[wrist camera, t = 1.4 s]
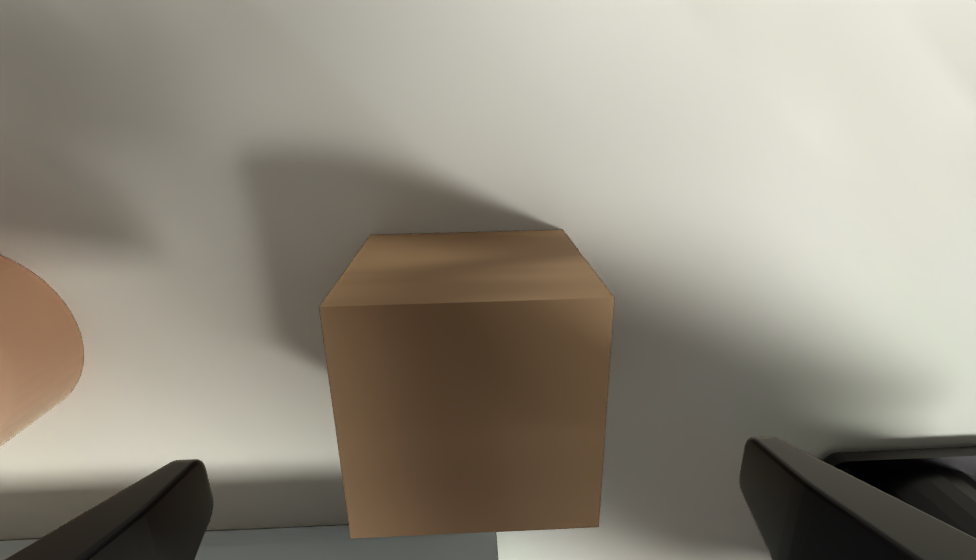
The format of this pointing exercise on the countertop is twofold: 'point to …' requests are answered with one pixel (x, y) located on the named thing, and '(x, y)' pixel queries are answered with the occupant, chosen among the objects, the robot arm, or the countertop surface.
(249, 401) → the countertop surface
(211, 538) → the box
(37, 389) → the cylinder
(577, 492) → the cube
